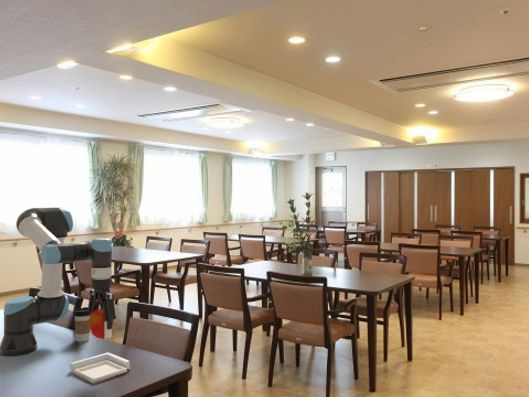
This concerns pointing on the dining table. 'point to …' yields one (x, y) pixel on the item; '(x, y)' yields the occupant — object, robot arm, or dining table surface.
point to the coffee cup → (82, 324)
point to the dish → (100, 371)
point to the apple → (98, 323)
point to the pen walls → (98, 359)
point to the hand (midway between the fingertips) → (101, 334)
